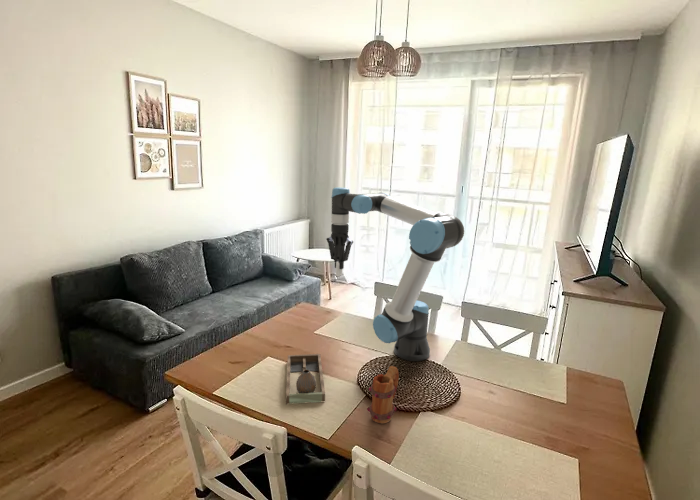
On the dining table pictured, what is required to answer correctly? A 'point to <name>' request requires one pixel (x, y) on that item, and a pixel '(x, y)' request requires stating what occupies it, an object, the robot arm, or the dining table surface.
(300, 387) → the vase
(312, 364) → the box
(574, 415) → the dining table surface
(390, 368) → the mug
